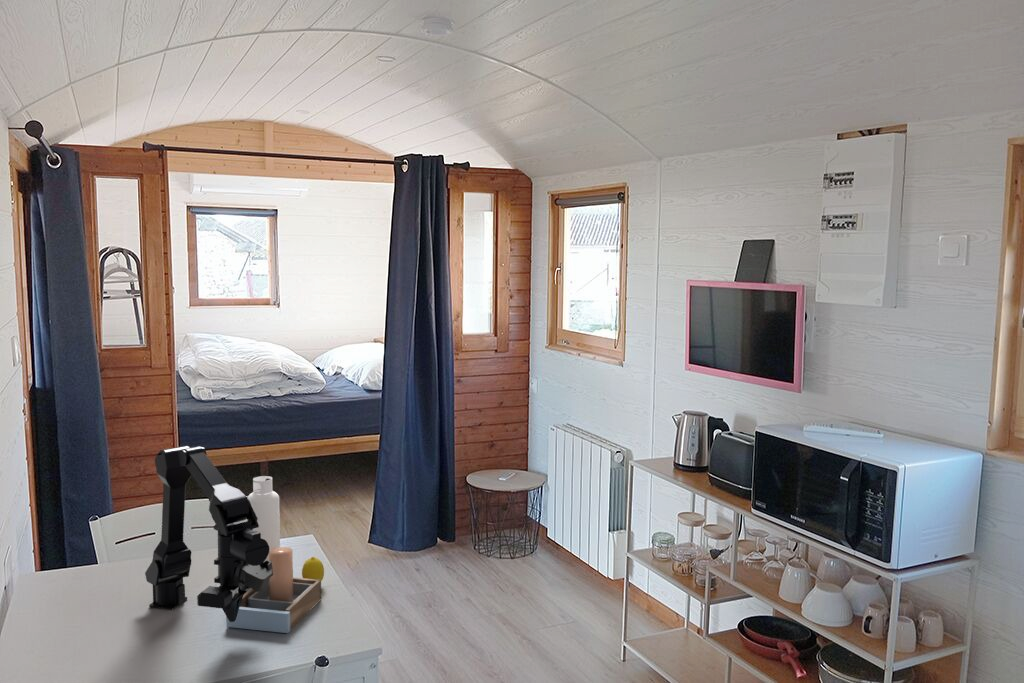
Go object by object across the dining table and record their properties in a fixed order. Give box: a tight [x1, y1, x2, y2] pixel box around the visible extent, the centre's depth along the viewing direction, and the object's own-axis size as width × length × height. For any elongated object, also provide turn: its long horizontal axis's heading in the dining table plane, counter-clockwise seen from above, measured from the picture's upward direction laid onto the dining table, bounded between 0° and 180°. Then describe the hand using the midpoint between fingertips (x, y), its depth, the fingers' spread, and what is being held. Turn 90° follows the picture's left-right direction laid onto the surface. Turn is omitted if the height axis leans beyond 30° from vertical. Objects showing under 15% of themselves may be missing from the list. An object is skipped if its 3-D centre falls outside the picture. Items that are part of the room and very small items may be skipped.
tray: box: [225, 582, 313, 634], centre depth 197 cm, size 15×18×4 cm
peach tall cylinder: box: [269, 546, 294, 602], centre depth 200 cm, size 6×6×13 cm
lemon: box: [301, 556, 325, 582], centre depth 213 cm, size 6×6×8 cm
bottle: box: [246, 475, 281, 560], centre depth 213 cm, size 8×8×28 cm
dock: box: [240, 576, 322, 631], centre depth 198 cm, size 14×18×5 cm
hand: (232, 621), depth 182 cm, fingers closed
